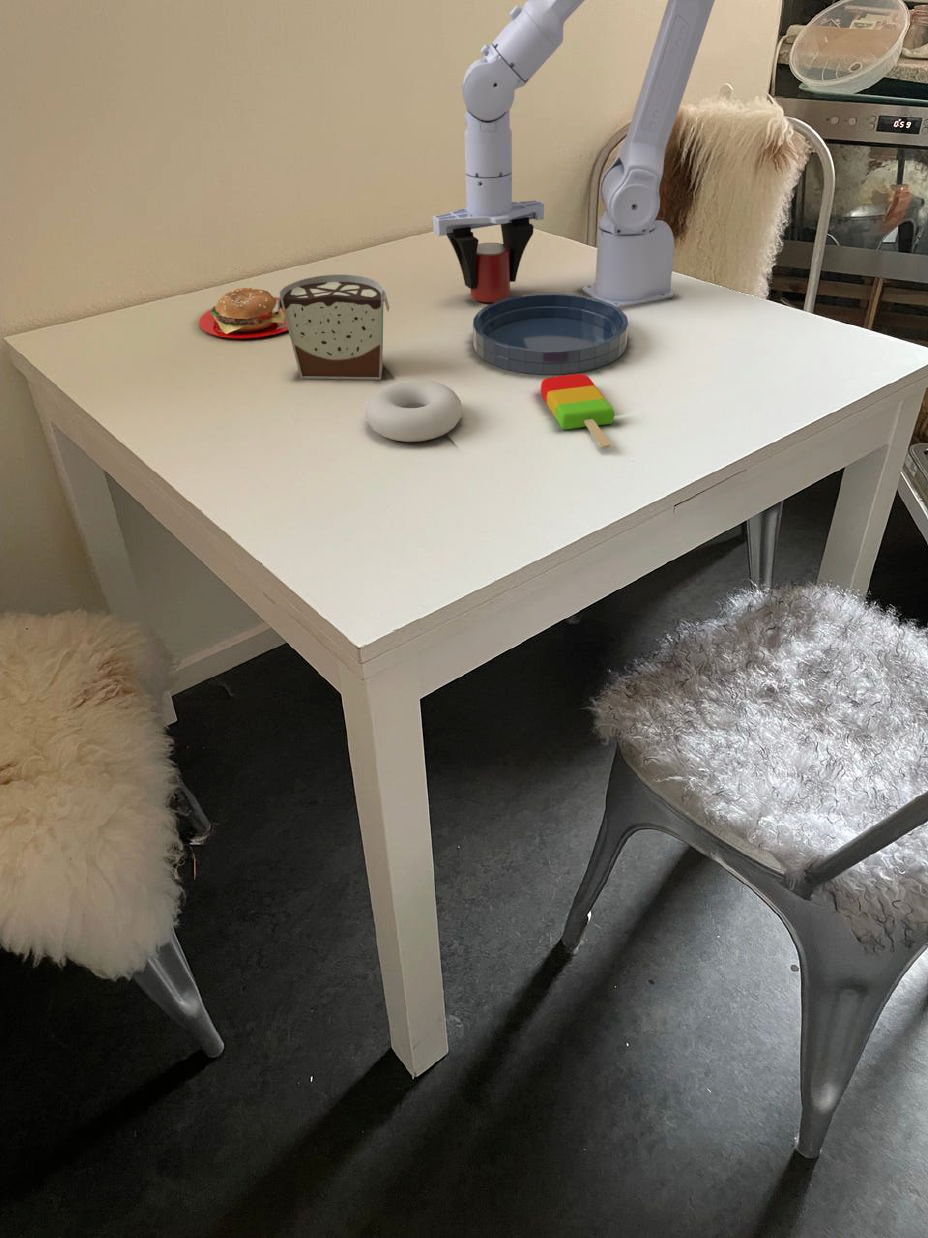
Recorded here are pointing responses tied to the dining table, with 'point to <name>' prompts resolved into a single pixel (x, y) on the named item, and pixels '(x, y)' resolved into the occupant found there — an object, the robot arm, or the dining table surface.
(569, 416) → the popsicle
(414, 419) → the donut
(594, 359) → the dark blue round plate
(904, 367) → the dining table surface
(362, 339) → the food container
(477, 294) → the can
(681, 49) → the robot arm
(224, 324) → the hamburger
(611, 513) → the dining table surface
